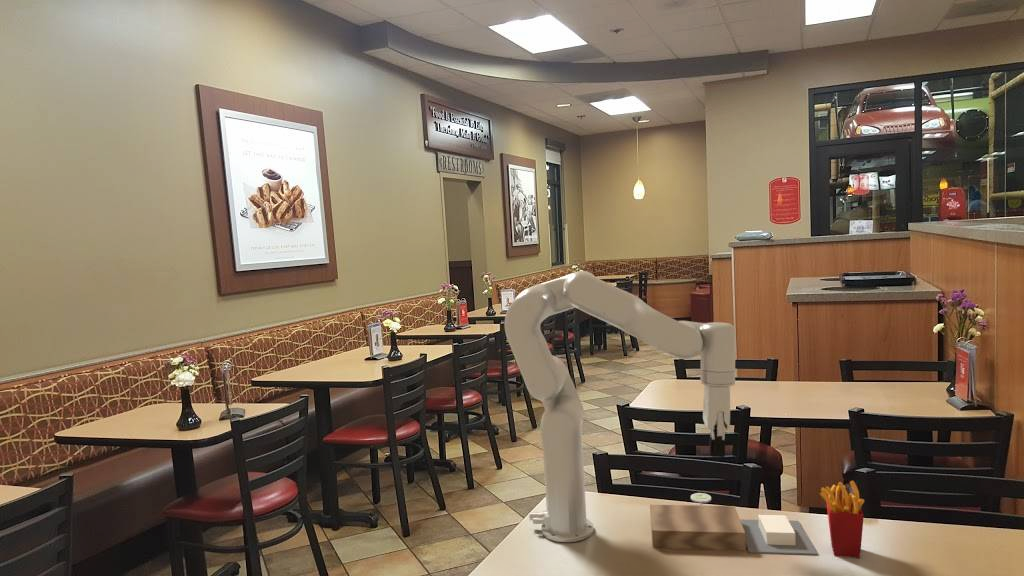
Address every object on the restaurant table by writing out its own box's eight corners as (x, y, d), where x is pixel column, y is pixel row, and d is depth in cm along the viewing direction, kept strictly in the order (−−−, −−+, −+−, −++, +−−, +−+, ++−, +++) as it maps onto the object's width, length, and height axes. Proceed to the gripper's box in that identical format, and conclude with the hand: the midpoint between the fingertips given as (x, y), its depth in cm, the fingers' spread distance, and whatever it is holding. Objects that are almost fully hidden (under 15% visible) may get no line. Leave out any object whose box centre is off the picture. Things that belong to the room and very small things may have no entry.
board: (652, 547, 142) (651, 530, 142) (650, 520, 156) (649, 504, 155) (745, 550, 138) (745, 532, 138) (735, 522, 152) (734, 506, 152)
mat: (748, 552, 137) (748, 551, 137) (736, 520, 153) (736, 519, 153) (817, 554, 134) (817, 553, 134) (798, 521, 150) (798, 520, 150)
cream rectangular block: (795, 532, 138) (795, 545, 139) (785, 515, 147) (785, 526, 147) (766, 532, 139) (766, 544, 140) (758, 514, 148) (758, 526, 148)
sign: (690, 517, 155) (690, 492, 170) (690, 520, 156) (690, 495, 170) (712, 518, 154) (710, 493, 168) (712, 522, 154) (711, 496, 168)
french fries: (866, 561, 131) (864, 491, 130) (822, 556, 134) (820, 488, 133) (858, 541, 139) (857, 475, 138) (817, 537, 142) (815, 473, 141)
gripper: (697, 369, 151) (696, 444, 153) (704, 384, 137) (703, 466, 138) (729, 370, 150) (729, 445, 151) (740, 384, 135) (739, 468, 137)
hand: (717, 455), depth 145 cm, fingers closed
